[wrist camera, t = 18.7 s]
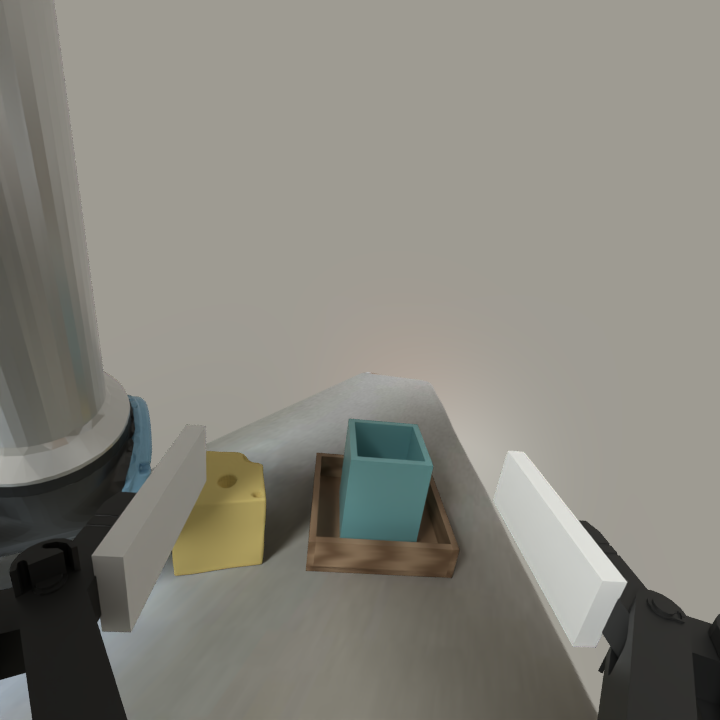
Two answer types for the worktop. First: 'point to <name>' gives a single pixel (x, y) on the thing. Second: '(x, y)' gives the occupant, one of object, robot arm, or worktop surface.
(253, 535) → the cheese
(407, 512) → the teal crate
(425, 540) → the walnut crate
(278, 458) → the worktop surface
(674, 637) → the robot arm
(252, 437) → the worktop surface
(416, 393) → the worktop surface
